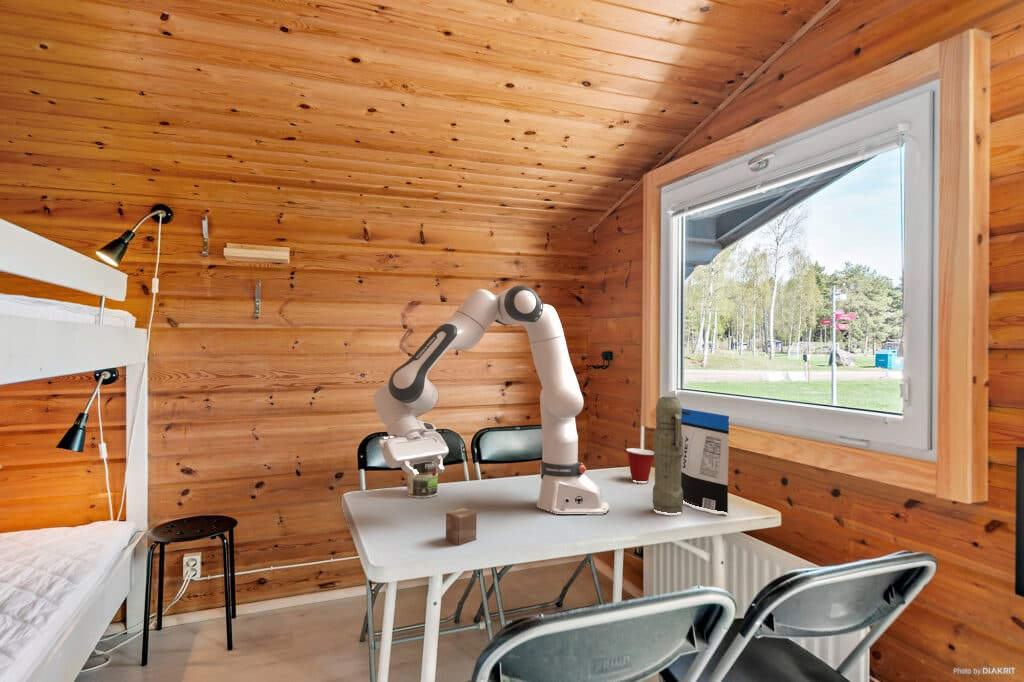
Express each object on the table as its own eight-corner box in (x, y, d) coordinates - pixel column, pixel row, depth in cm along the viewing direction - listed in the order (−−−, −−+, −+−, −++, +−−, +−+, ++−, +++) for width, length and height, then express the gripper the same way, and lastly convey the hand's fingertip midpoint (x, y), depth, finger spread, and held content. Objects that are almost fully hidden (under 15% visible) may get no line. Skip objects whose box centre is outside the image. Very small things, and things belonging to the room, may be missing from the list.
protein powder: (714, 517, 175) (716, 416, 175) (666, 497, 197) (667, 408, 198) (740, 515, 178) (741, 415, 178) (689, 495, 201) (690, 407, 201)
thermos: (667, 505, 187) (668, 395, 188) (691, 515, 176) (693, 398, 177) (643, 508, 184) (645, 395, 184) (667, 518, 173) (669, 399, 173)
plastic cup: (658, 485, 214) (659, 452, 214) (629, 485, 214) (629, 452, 214) (651, 479, 225) (651, 447, 225) (623, 478, 225) (623, 447, 225)
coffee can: (444, 493, 199) (444, 451, 199) (424, 500, 190) (424, 456, 190) (420, 489, 204) (421, 448, 204) (400, 495, 195) (400, 452, 195)
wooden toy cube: (445, 541, 150) (446, 512, 150) (463, 535, 155) (463, 508, 155) (458, 545, 147) (459, 516, 147) (476, 539, 152) (476, 511, 152)
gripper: (381, 430, 156) (404, 473, 150) (438, 423, 172) (461, 462, 165) (370, 445, 159) (392, 487, 153) (427, 437, 175) (450, 475, 168)
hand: (428, 474), depth 159 cm, fingers open, 8 cm apart
